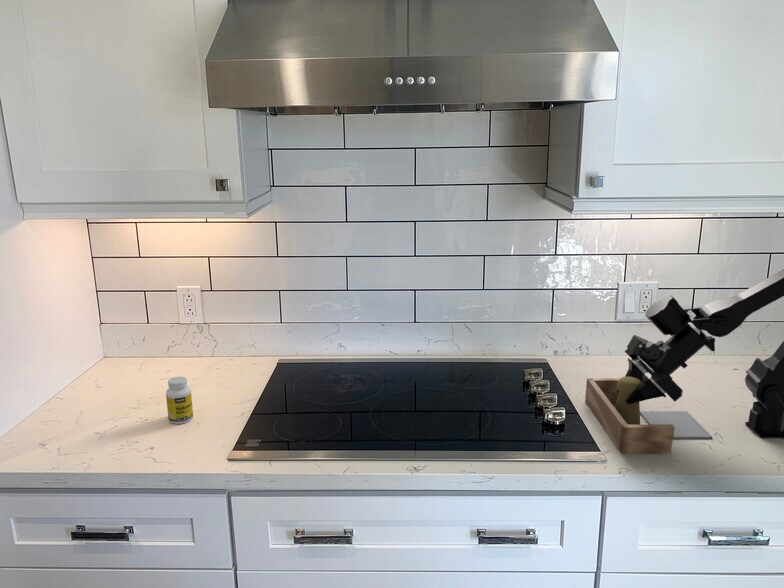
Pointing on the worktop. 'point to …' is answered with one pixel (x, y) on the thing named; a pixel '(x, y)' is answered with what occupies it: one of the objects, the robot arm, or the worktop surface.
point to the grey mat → (677, 423)
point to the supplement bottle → (179, 401)
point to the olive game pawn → (625, 389)
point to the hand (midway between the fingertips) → (622, 397)
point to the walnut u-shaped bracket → (624, 435)
